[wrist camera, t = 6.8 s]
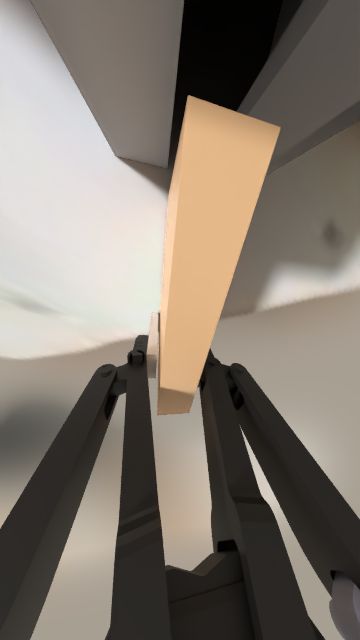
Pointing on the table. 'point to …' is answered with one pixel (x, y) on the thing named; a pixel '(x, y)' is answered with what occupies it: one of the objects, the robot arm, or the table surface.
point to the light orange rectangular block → (205, 237)
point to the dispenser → (162, 60)
